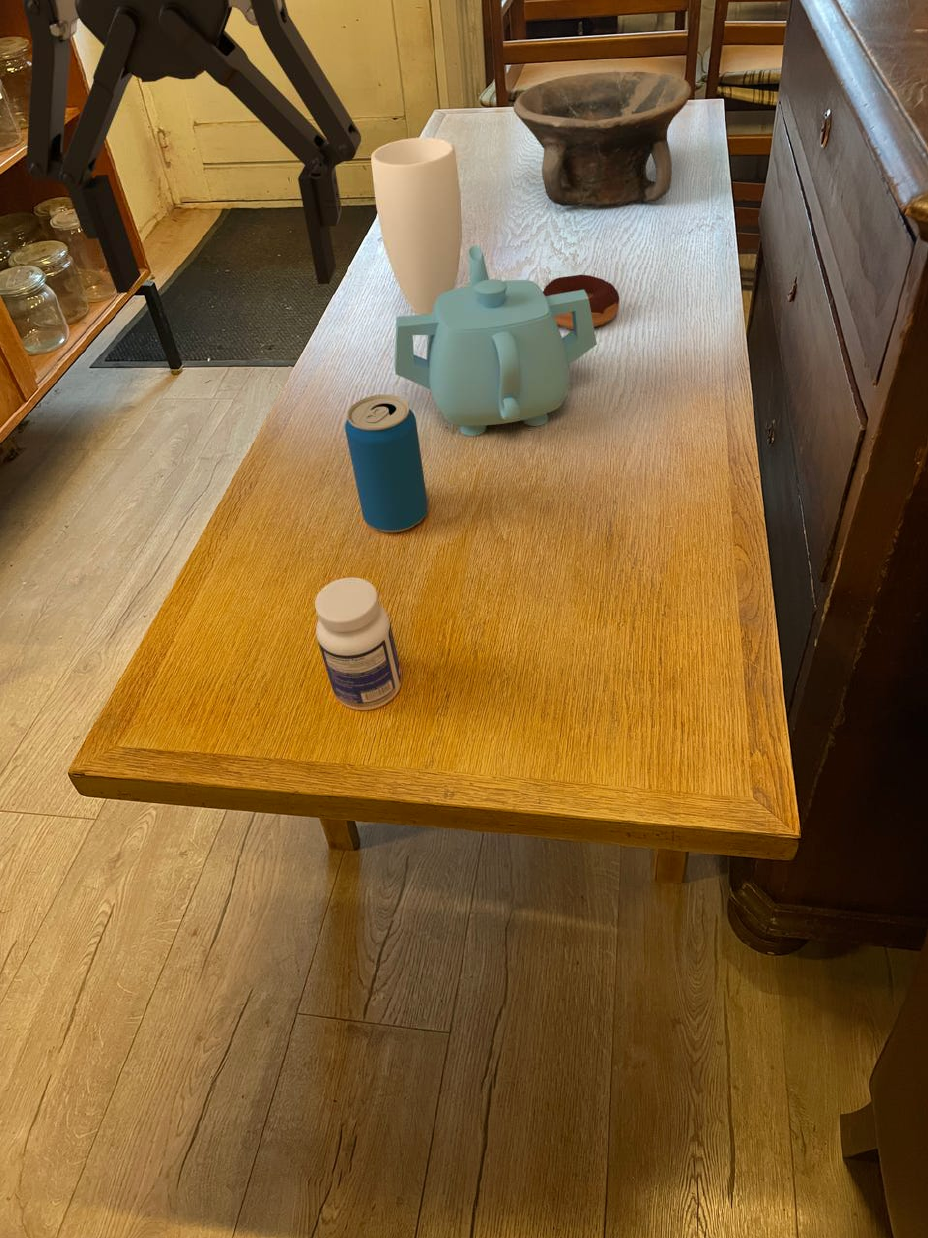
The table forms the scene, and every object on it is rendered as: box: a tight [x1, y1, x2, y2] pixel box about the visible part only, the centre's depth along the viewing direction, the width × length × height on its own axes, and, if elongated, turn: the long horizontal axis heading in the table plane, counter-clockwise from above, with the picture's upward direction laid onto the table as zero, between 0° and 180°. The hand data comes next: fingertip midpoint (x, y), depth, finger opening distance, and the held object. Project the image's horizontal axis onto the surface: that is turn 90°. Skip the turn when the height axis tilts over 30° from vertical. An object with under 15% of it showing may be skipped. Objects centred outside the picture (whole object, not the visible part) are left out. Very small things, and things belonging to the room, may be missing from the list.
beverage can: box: [344, 394, 429, 533], centre depth 84 cm, size 6×6×12 cm
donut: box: [542, 274, 620, 330], centre depth 113 cm, size 10×10×4 cm
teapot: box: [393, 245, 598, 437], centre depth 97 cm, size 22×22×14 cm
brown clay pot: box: [512, 70, 692, 207], centre depth 139 cm, size 27×26×15 cm
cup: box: [370, 137, 463, 315], centre depth 108 cm, size 10×10×22 cm
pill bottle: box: [314, 576, 403, 711], centre depth 69 cm, size 6×6×10 cm
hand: (227, 280), depth 59 cm, fingers open, 13 cm apart
